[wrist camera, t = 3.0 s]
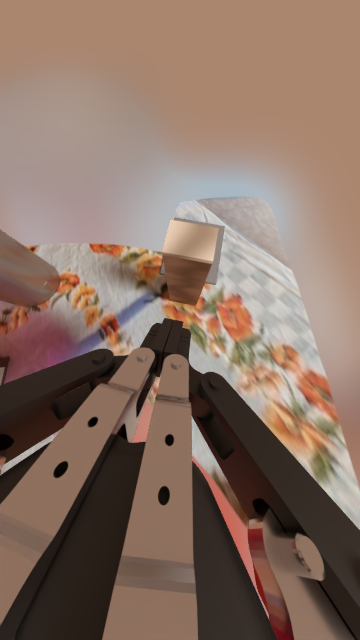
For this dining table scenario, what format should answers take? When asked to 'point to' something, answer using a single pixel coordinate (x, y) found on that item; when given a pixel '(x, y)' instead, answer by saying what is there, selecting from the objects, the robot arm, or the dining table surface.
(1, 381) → the protein box
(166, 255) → the walnut block
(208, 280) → the rubber mat
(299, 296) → the dining table surface
